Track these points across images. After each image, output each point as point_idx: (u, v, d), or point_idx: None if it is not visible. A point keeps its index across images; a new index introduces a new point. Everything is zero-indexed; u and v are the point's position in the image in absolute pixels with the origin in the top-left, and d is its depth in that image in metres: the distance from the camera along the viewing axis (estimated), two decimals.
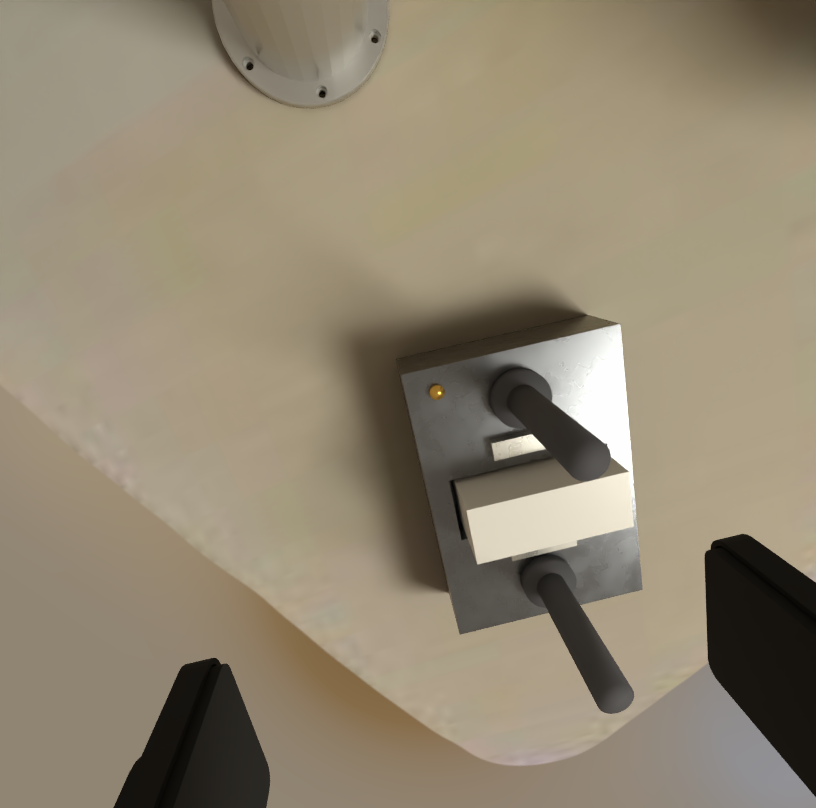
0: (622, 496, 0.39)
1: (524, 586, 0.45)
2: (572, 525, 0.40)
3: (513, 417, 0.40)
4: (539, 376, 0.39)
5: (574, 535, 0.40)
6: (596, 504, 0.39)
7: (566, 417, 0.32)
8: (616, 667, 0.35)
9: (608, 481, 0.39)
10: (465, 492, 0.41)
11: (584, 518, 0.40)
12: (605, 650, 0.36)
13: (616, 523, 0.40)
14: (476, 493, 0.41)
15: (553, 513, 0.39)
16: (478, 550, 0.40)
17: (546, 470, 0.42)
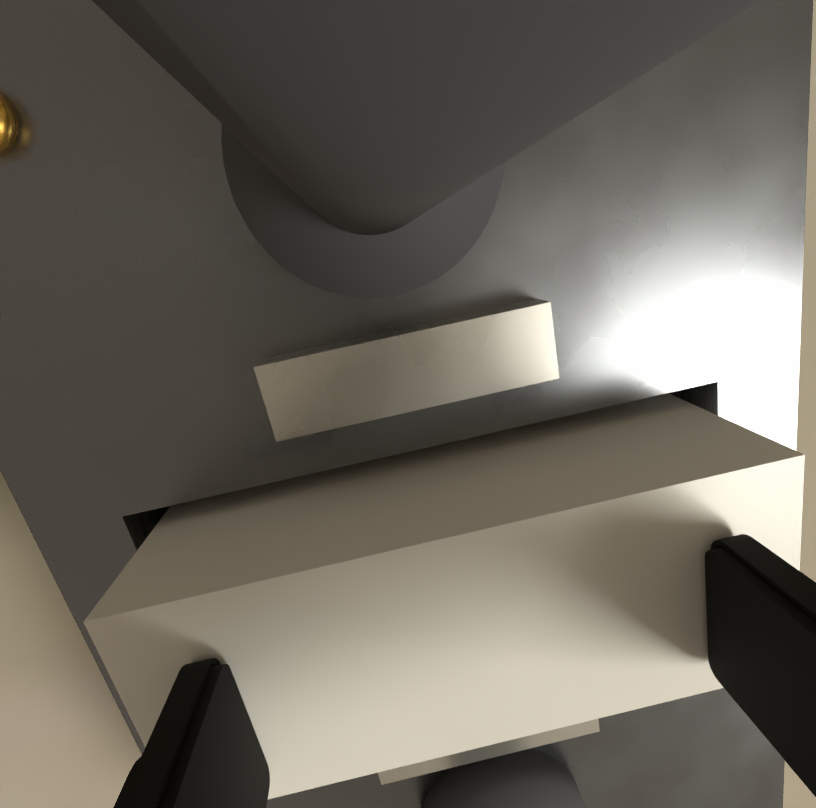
0: None
1: None
2: (556, 672, 0.10)
3: (329, 240, 0.09)
4: None
5: (566, 707, 0.10)
6: (657, 590, 0.10)
7: None
8: None
9: (714, 495, 0.09)
10: (169, 530, 0.11)
11: (608, 645, 0.10)
12: None
13: None
14: (198, 535, 0.11)
15: (481, 628, 0.09)
16: None
17: (471, 454, 0.12)
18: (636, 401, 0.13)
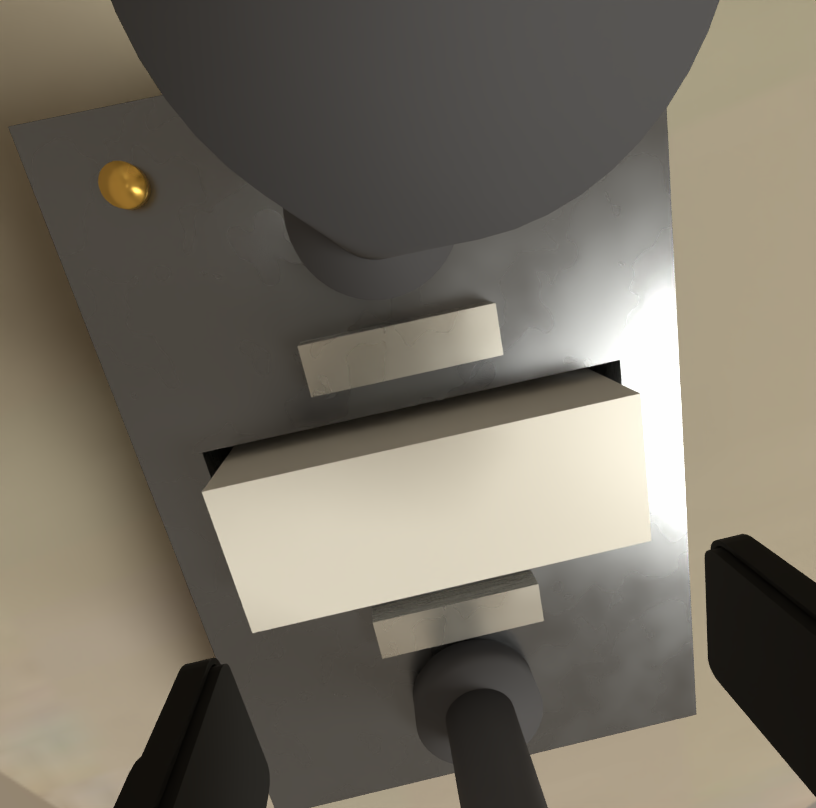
0: (622, 461, 0.15)
1: (415, 718, 0.19)
2: (492, 536, 0.15)
3: (348, 263, 0.14)
4: None
5: (500, 561, 0.16)
6: (554, 481, 0.15)
7: None
8: None
9: (585, 418, 0.15)
10: (241, 452, 0.17)
11: (525, 518, 0.15)
12: None
13: (607, 532, 0.16)
14: (261, 453, 0.16)
15: (443, 504, 0.15)
16: (251, 598, 0.15)
17: (442, 404, 0.17)
18: None
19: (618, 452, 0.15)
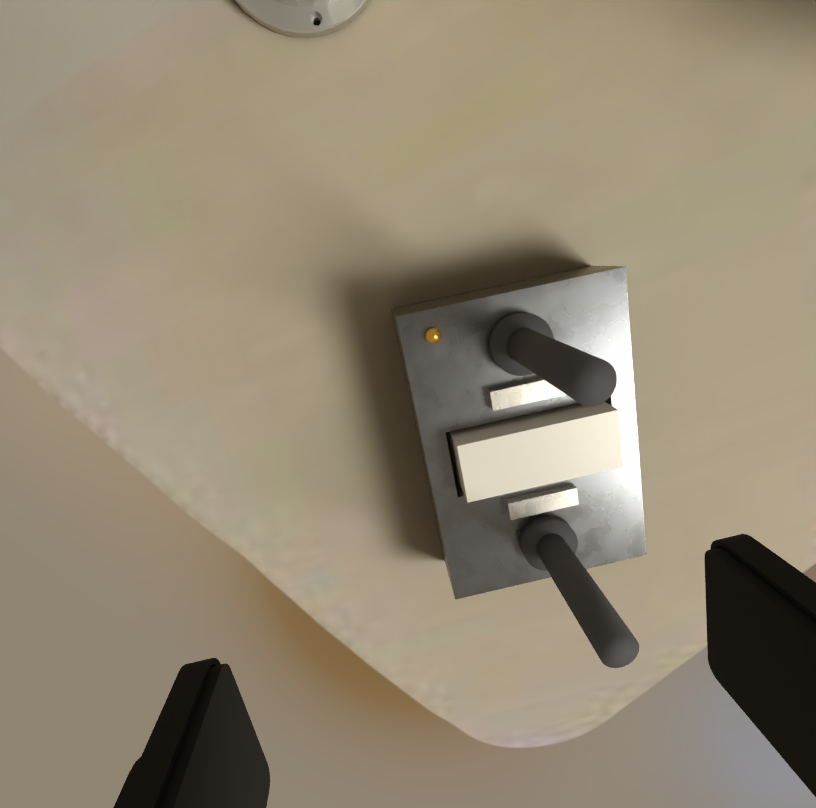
0: (611, 435, 0.40)
1: (523, 547, 0.43)
2: (561, 464, 0.40)
3: (513, 363, 0.38)
4: (540, 319, 0.37)
5: (564, 474, 0.40)
6: (585, 442, 0.40)
7: (569, 346, 0.30)
8: (620, 619, 0.33)
9: (597, 419, 0.39)
10: (456, 433, 0.41)
11: (574, 457, 0.40)
12: (608, 604, 0.34)
13: (605, 463, 0.40)
14: (467, 433, 0.41)
15: (543, 451, 0.40)
16: (469, 488, 0.40)
17: (537, 413, 0.42)
18: None
19: (610, 431, 0.40)
